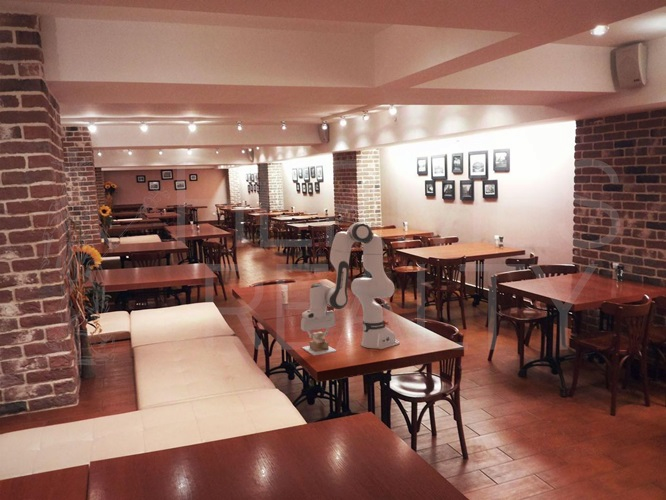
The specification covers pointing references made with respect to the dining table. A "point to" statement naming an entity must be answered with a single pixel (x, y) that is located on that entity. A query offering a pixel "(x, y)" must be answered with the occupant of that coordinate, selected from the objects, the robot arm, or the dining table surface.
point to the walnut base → (319, 346)
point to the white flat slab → (318, 351)
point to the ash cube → (319, 337)
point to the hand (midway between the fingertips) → (318, 336)
